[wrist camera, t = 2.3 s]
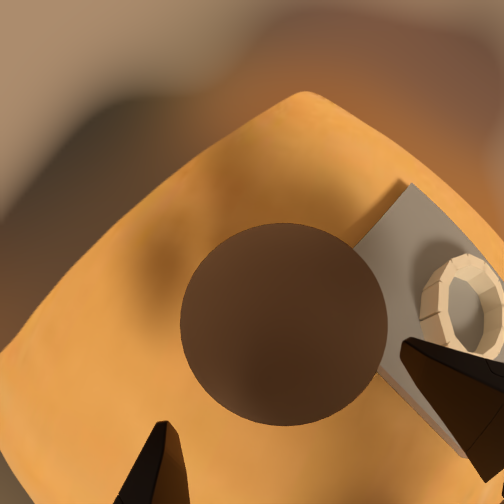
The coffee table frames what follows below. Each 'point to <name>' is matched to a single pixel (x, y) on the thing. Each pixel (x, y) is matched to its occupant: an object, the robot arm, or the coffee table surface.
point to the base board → (403, 281)
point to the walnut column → (284, 324)
